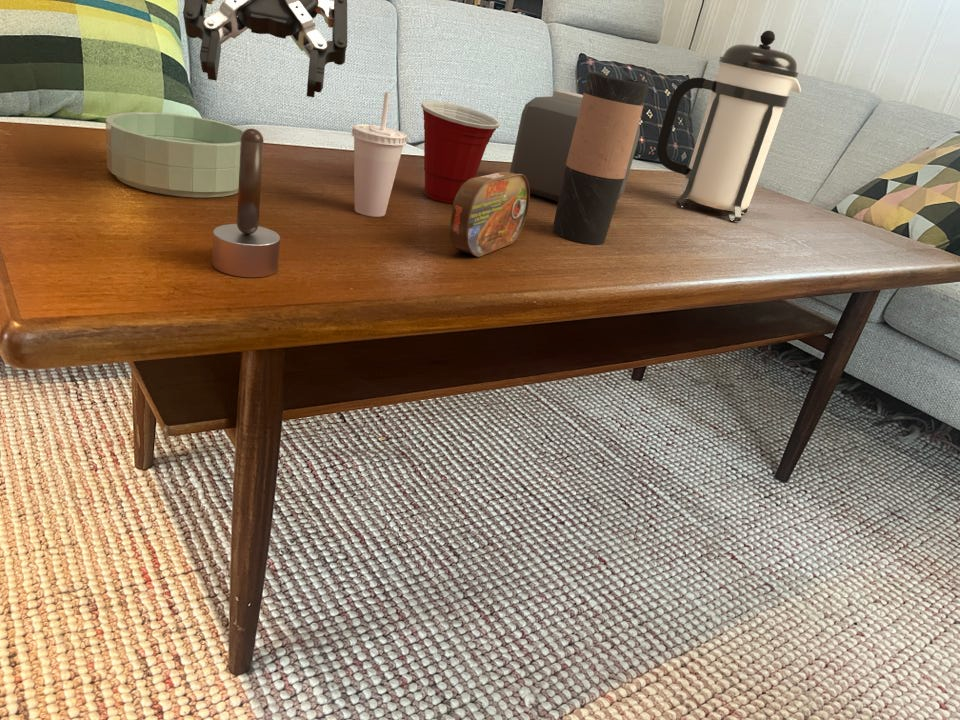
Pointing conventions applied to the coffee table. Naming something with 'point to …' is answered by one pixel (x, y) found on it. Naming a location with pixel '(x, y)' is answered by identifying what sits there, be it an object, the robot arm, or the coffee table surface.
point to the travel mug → (598, 157)
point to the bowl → (174, 154)
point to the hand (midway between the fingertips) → (262, 83)
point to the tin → (489, 212)
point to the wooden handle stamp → (247, 221)
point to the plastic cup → (453, 146)
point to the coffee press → (733, 125)
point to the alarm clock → (550, 142)
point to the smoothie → (375, 164)
